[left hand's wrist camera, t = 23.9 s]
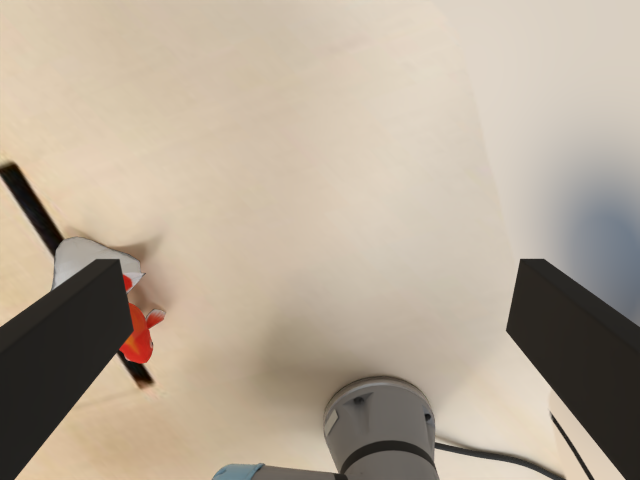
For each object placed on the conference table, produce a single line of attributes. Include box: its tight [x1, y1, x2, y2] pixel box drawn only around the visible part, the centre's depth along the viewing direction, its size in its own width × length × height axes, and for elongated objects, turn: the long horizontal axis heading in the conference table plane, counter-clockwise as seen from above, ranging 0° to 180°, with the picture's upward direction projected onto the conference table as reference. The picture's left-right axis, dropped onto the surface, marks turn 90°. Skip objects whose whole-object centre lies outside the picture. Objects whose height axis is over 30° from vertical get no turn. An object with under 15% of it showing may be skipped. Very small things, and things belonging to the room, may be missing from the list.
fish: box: [51, 237, 166, 363], centre depth 42 cm, size 11×16×10 cm
